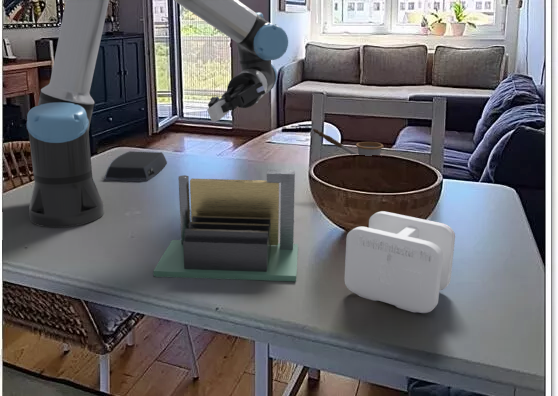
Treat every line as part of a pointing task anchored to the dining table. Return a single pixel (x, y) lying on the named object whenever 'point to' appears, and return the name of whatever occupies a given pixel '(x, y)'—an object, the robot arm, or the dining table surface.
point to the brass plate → (236, 200)
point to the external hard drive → (136, 166)
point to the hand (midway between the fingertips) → (213, 114)
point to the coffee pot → (363, 147)
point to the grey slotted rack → (235, 232)
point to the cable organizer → (400, 261)
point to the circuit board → (278, 269)
